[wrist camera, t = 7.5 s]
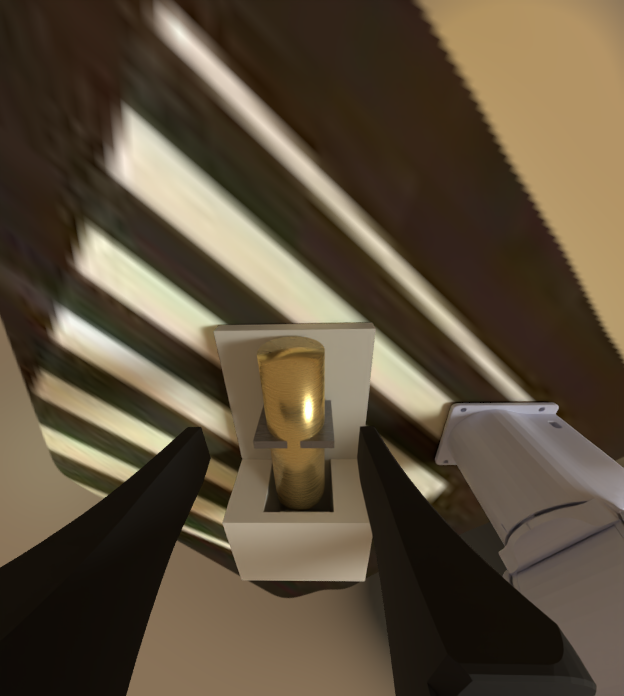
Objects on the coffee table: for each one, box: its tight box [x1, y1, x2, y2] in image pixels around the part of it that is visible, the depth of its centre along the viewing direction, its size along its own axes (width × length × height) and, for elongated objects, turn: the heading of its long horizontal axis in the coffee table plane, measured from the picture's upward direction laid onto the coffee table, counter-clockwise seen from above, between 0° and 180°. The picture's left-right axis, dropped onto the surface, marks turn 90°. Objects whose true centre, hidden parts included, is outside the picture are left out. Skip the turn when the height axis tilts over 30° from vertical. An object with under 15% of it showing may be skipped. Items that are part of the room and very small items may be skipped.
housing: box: [213, 323, 375, 581], centre depth 21 cm, size 12×24×7 cm, turn 1°
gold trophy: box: [253, 336, 334, 511], centre depth 19 cm, size 6×14×4 cm, turn 1°
